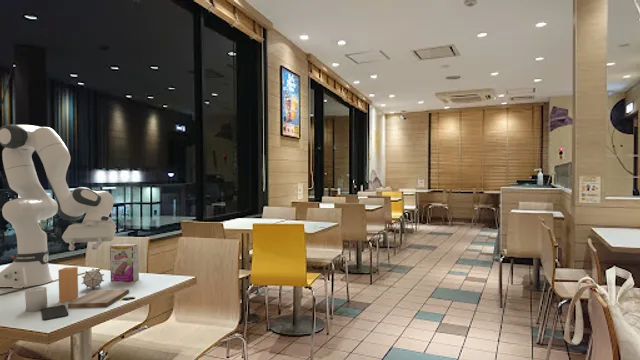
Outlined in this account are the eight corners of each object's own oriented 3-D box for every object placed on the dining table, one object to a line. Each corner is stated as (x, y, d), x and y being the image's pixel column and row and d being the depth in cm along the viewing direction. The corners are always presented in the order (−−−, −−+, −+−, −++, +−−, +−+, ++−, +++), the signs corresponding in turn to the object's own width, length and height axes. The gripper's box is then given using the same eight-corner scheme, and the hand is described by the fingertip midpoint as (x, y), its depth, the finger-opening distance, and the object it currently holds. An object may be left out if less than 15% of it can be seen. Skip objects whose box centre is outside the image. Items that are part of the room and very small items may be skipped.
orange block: (59, 301, 155) (58, 270, 155) (66, 297, 160) (65, 267, 160) (71, 301, 155) (70, 269, 155) (78, 297, 160) (77, 267, 160)
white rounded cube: (21, 312, 143) (20, 292, 143) (33, 306, 150) (32, 287, 149) (40, 311, 144) (39, 291, 143) (51, 305, 150) (50, 286, 150)
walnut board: (67, 307, 147) (67, 303, 147) (94, 293, 165) (93, 290, 165) (107, 306, 147) (107, 302, 147) (129, 292, 165) (128, 289, 165)
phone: (64, 304, 150) (69, 314, 138) (65, 306, 150) (69, 316, 138) (40, 308, 146) (42, 319, 134) (40, 310, 146) (42, 322, 134)
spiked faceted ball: (90, 298, 172) (74, 282, 167) (90, 286, 179) (75, 271, 174) (110, 286, 174) (95, 270, 169) (109, 275, 181) (95, 260, 176)
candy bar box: (109, 281, 184) (109, 245, 184) (116, 279, 189) (115, 243, 189) (133, 282, 183) (132, 245, 183) (139, 279, 188) (138, 243, 188)
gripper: (66, 219, 175) (53, 245, 165) (115, 217, 175) (104, 243, 166) (73, 228, 179) (60, 254, 170) (120, 226, 180) (110, 252, 170)
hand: (82, 249), depth 168 cm, fingers open, 8 cm apart
